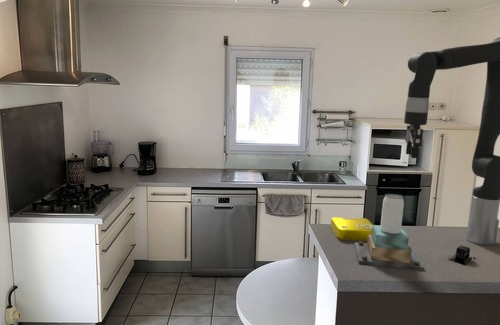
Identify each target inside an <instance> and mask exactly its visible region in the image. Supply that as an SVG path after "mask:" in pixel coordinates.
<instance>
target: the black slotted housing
mask: <svg viewBox="0 0 500 325" xmlns="http://www.w3.org/2000/svg"><path fill="white" fill-rule="evenodd" d="M470 252H471V248H470V247H469V246H468V247H467V246H465V245H462V244H461V245H460V246H457V247H456V250H455V255H454V256H452V257H450V258H449V259H448V261H450V262H453V263H456V264H459V265H462V266H466V265H468V264H470V263H471V262H472V261H471V260H472V258H471V257H472V256H470V254H471V253H470ZM469 256H470V257H469ZM470 261H471V262H470ZM469 262H470V263H469Z"/></svg>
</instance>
